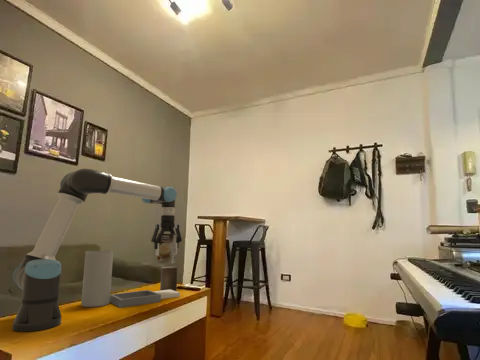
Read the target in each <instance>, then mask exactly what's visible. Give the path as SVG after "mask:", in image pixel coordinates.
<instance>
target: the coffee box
mask: <svg viewBox="0 0 480 360" xmlns="http://www.w3.org/2000/svg"><path fill="white" fill-rule="evenodd" d="M158 235H159V233H158V234H157V236H158ZM176 236H177V234H176V233H175V234H171V233H163V235H162V237H161V238H160V240H159V242H158V243H159V255H156V264H174V263H176V255H175V254H176Z"/></svg>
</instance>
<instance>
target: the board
mask: <svg viewBox="0 0 480 360" xmlns="http://www.w3.org/2000/svg"><path fill="white" fill-rule="evenodd" d="M152 292H155V293H158V294H161V300H163V299H170V298H178V297H181V292H180V291H177V290H176V291H173V290H161V291H160V290H156V291H153V290H152Z"/></svg>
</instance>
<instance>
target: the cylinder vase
mask: <svg viewBox="0 0 480 360" xmlns="http://www.w3.org/2000/svg"><path fill="white" fill-rule="evenodd" d="M113 260H114V251H113V250H89V251H88V250H87V251H85V255H84V267H83V280H82V291H81V300H80V301H81V303H80V305H81V307H83V308H100V307H104V306H107V305H109V304H110V303H111V302H110V294H111V289H112V276H113V275H112V274H113V264H114V263H113V262H114V261H113Z"/></svg>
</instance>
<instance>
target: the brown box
mask: <svg viewBox="0 0 480 360" xmlns="http://www.w3.org/2000/svg"><path fill="white" fill-rule="evenodd" d="M177 285H178V266H176V265H175V266H170V264H169V265H168V266H161V267H160V286H159V287H160V288H159V289H160V290H159V291H161V290H173V291H177V288H178V287H177Z"/></svg>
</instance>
